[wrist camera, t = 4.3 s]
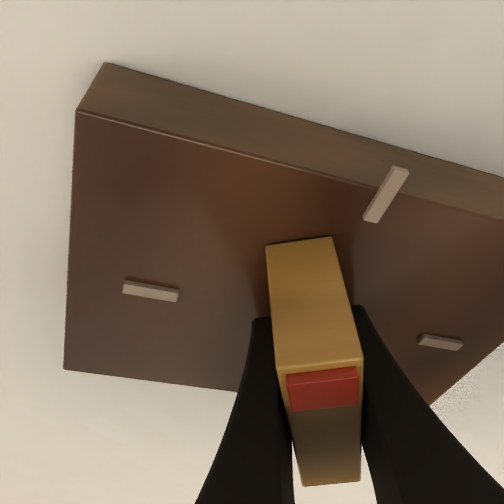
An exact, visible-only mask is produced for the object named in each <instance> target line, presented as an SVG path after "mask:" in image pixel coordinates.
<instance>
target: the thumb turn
mask: <svg viewBox="0 0 504 504" xmlns="http://www.w3.org/2000/svg"><path fill="white" fill-rule="evenodd" d="M265 251H266V262H267V274H268V285H269V296H270V307H271V319H272V330H273V341H274V353H275V364H276V371H277V375H278V380H279V384H280V389H281V393H282V398H283V402H284V407H285V411H286V415H287V420H288V424H289V429H290V433H291V438H292V442H293V447H294V451H295V456H296V460H297V465H298V469H299V474H300V478H301V483H302V485H303V486H304V487H307V486H317V485H327V484H337V483H347V482H358V481H360V480H361V447H362V408H363V369H364V356H363V352H362V348H361V345H360V341H359V337H358V333H357V330H356V326H355V322H354V318H353V314H352V311H351V307H350V303H349V299H348V295H347V292H346V288H345V284H344V280H343V277H342V273H341V269H340V265H339V261H338V258H337V254H336V250H335V246H334V243H333V239H332V237H330V236H328V237H321V238H314V239H307V240H300V241H293V242H286V243H279V244H273V245H267V246H266V248H265Z"/></svg>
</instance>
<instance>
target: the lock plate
mask: <svg viewBox="0 0 504 504" xmlns="http://www.w3.org/2000/svg"><path fill="white" fill-rule="evenodd" d="M328 236H330V237H332V239H333V243H334V246H335V250H336V254H337V258H338V261H339V265H340V269H341V273H342V277H343V280H344V284H345V288H346V292H347V295H348V299H349V303H350V306H352V305H362V306H364V308H365V310H366V312H367V314H368V316H369V318H370V320H371V322H372V323H373V325H374V327H375V329H376V331H377V332H378V334H379V336H380V337H381V339H382V340H383V342H384V344H385V345H386V347H387V348H388V350H389V352H390V353H391V355H392V356H393V358H394V359H395V361H396V362H397V363H398V365H399V366H400V368H401V369H402V371H403V372H404V373H405V375H406V376H407V378H408V379H409V380H410V382H411V383H412V385H413V386H414V387H415V389H416V390H417V391H418V393H419V394H420V395H421V396H422V398H423V399H424V400H425V402H426V403H427V404H428V405H429V406H430V405H431V404H432V403H433V402H434V401H435V400H437V399H438V398H439V397H440V396H441V395H442V394H444V393H445V392H446V391H447V390H448V389H449V388H451V387H452V386H453V385H454V384H455V383H456V382H457V381H459V380H460V379H461V378H462V377H463V376H464V375H466V374H467V373H468V372H469V371H470V370H471V369H473V368H474V367H475V366H476V365H477V364H478V363H480V362H481V361H482V360H483V359H484V358H485V357H486V356H488V355H489V354H490V353H491V352H492V351H493V350H495V349H496V348H497V347H498V346H499V345H500V344H502V343H503V342H504V178H502V177H498V176H495V175H491V174H488V173H484V172H481V171H478V170H474V169H471V168H467V167H464V166H460V165H457V164H453V163H450V162H447V161H443V160H440V159H436V158H433V157H429V156H426V155H422V154H419V153H416V152H412V151H409V150H405V149H402V148H398V147H395V146H391V145H388V144H385V143H381V142H378V141H374V140H371V139H367V138H364V137H360V136H357V135H354V134H350V133H347V132H343V131H340V130H336V129H333V128H329V127H326V126H323V125H319V124H316V123H312V122H309V121H305V120H302V119H298V118H295V117H292V116H288V115H285V114H281V113H278V112H274V111H271V110H267V109H264V108H261V107H257V106H254V105H250V104H247V103H243V102H240V101H236V100H233V99H230V98H226V97H223V96H219V95H216V94H212V93H209V92H205V91H202V90H199V89H195V88H192V87H188V86H185V85H181V84H178V83H174V82H171V81H168V80H164V79H161V78H157V77H154V76H150V75H147V74H143V73H140V72H137V71H133V70H130V69H126V68H123V67H119V66H116V65H112V64H109V63H103V65H102V67H101V68H100V70H99V72H98V73H97V75H96V77H95V78H94V80H93V82H92V83H91V85H90V87H89V88H88V90H87V92H86V93H85V95H84V97H83V98H82V100H81V102H80V103H79V105H78V107H77V108H76V110H75V128H74V149H73V170H72V191H71V213H70V234H69V255H68V276H67V297H66V318H65V339H64V361H63V369H65V370H71V371H78V372H86V373H94V374H101V375H109V376H117V377H125V378H132V379H140V380H148V381H155V382H163V383H171V384H179V385H186V386H194V387H202V388H209V389H217V390H225V391H233V392H238V389H239V386H240V382H241V378H242V375H243V371H244V367H245V362H246V358H247V353H248V348H249V343H250V336H251V328H252V321H253V320H254V319H255V318H259V317H267V316H271V307H270V296H269V285H268V274H267V262H266V251H265V248H266V246H267V245H273V244H279V243H286V242H293V241H300V240H307V239H314V238H321V237H328Z"/></svg>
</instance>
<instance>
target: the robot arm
mask: <svg viewBox="0 0 504 504" xmlns="http://www.w3.org/2000/svg"><path fill="white" fill-rule="evenodd" d="M350 307H351V311H352V314H353V318H354V322H355V326H356V330H357V333H358V337H359V341H360V345H361V348H362V352H363V356H364V369H363V408H362V446H363V450H364V453H365V456H366V460H367V463H368V467H369V470H370V474H371V478H372V482H373V486H374V490H375V495H376V500H377V504H504V488H503V487H502V486H501V485H500V484H499V483H498V482H497V481H496V480H495V479H494V478H493V477H492V476H491V475H490V474H489V473H488V472H487V471H486V470H485V469H484V468H483V467H482V466H481V465H480V464H479V463H478V462H477V461H476V460H475V459H474V458H473V456H472V455H471V454H470V453H469V452H468V451H467V450H466V449H465V448H464V447H463V446H462V444H461V443H460V442H459V441H458V440H457V439H456V438H455V437H454V435H453V434H452V433H451V432H450V431H449V430H448V429H447V427H446V426H445V425H444V424H443V423H442V421H441V420H440V419H439V418H438V417H437V415H436V414H435V413H434V412H433V410H432V409H431V408H430V407H429V405H428V404H427V403H426V402H425V400H424V399H423V398H422V396H421V395H420V394H419V393H418V391H417V390H416V389H415V387H414V386H413V385H412V383H411V382H410V380H409V379H408V378H407V376H406V375H405V373H404V372H403V371H402V369H401V368H400V366H399V365H398V363H397V362H396V361H395V359H394V358H393V356H392V355H391V353H390V352H389V350H388V348H387V347H386V345H385V344H384V342H383V340H382V339H381V337H380V336H379V334H378V332H377V331H376V329H375V327H374V325H373V323H372V322H371V320H370V318H369V316H368V314H367V312H366V310H365V308H364V306H362V305H352V306H350ZM195 504H295V501H294V489H293V470H292V438H291V433H290V429H289V424H288V420H287V415H286V411H285V407H284V402H283V398H282V393H281V389H280V384H279V380H278V375H277V371H276V364H275V353H274V341H273V330H272V319H271V316H267V317H259V318H255V319H254V320H253V321H252V328H251V336H250V343H249V348H248V353H247V358H246V362H245V367H244V371H243V375H242V378H241V382H240V386H239V389H238V393H237V397H236V400H235V403H234V406H233V409H232V412H231V415H230V418H229V421H228V424H227V427H226V430H225V433H224V436H223V438H222V441H221V444H220V446H219V449H218V451H217V454H216V456H215V459H214V461H213V464H212V466H211V469H210V471H209V473H208V476H207V478H206V480H205V482H204V484H203V487H202V489H201V491H200V493H199V496H198V498H197V500H196V502H195Z"/></svg>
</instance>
